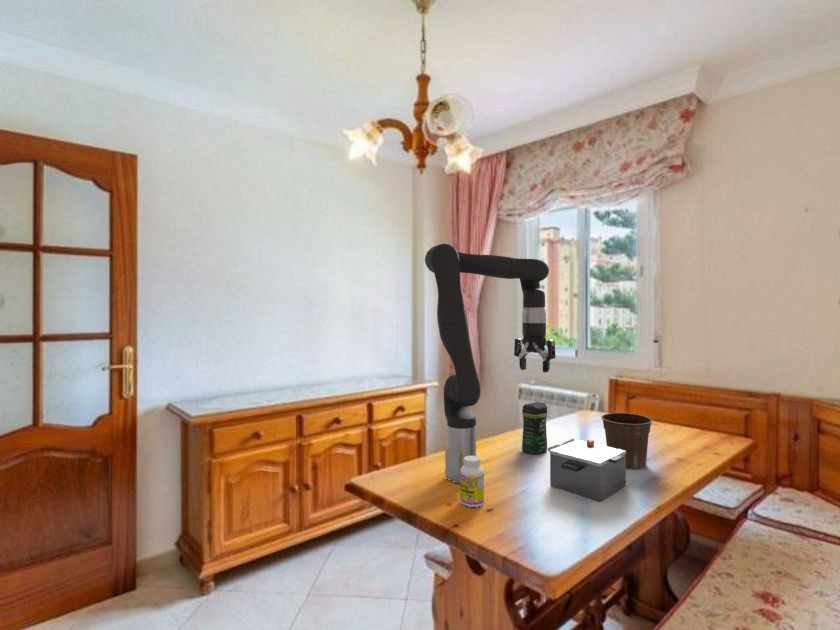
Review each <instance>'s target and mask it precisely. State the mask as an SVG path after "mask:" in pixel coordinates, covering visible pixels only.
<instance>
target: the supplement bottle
mask: <svg viewBox="0 0 840 630" xmlns="http://www.w3.org/2000/svg"><path fill="white" fill-rule="evenodd" d="M481 463H482V461H481V457H479V456H478V455H476V456H466V457H464V464H465V465H464V466H462V468H461V470H460V484H459V486H460V487H459V490H460V491H459V493H460V494H459V497H460V498H459V501H460V504H461V505H462V504H463V505H462V506H464V505H465V506H464V507H466V506H468V507H467V508H470V507H477V508H480V507H482V506H483V505H484V504H485V470H484V467H482V466H481ZM479 506H480V507H479Z"/></svg>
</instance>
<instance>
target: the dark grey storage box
mask: <svg viewBox="0 0 840 630" xmlns="http://www.w3.org/2000/svg"><path fill="white" fill-rule="evenodd" d="M549 455H550V457H549V461H550V462H549V464H550V466H549V467H550V469H549V471H550V473H549V475H550V477H549V482H550V483H549V485H550V487H552V488H554V489H558V490H562V491H565V492H567V493H568V492H569V493H571V494H574V495H577V496H580V497H583V498H586V499H589V500H591V501H593V500H594V501H596V502H599V503H601V502H604V500H606V499H608V498H609V497H612V496H613V495H614V494H616V493H618V492H620V491H621V490H622V489H624V487H625V488H626V486H627V485H626V484H627V483H626V478H627V477H626V473H627V472H626V470H627V469H626V454H625V455H623V460H621V461H619V462H617V463H613V462H608V463H606V464H604V465H602V466H600V467H599V466H595V465H592V464H588V463H584V462H580V461H576V460H573V459H569V458H565V457H561V456H557V455H554V454H550V453H549Z"/></svg>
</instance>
